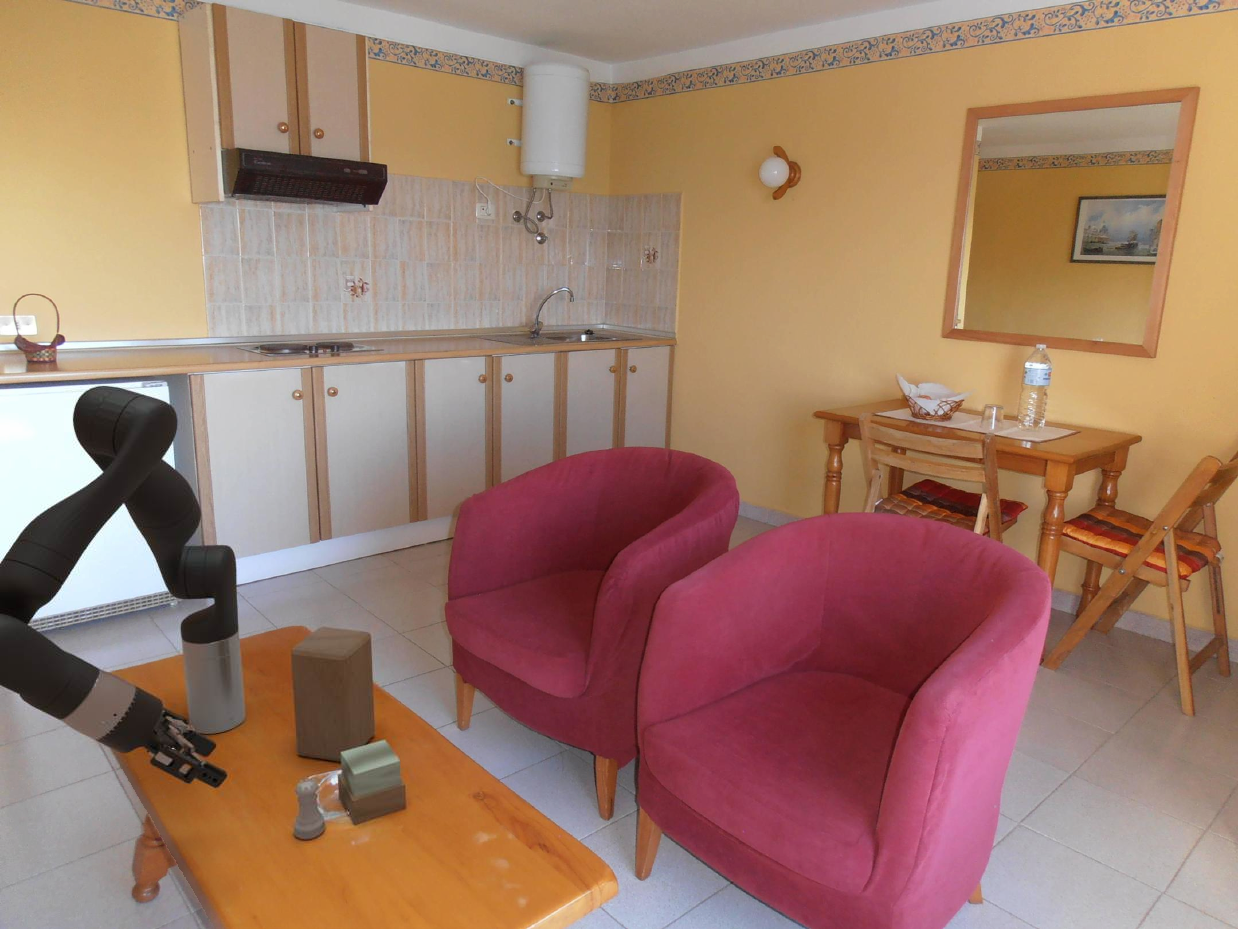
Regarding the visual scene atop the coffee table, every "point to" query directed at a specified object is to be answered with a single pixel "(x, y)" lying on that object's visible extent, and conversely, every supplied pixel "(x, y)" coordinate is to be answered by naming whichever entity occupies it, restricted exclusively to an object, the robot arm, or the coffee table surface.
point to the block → (333, 692)
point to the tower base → (371, 802)
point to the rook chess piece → (308, 811)
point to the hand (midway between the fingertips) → (217, 765)
